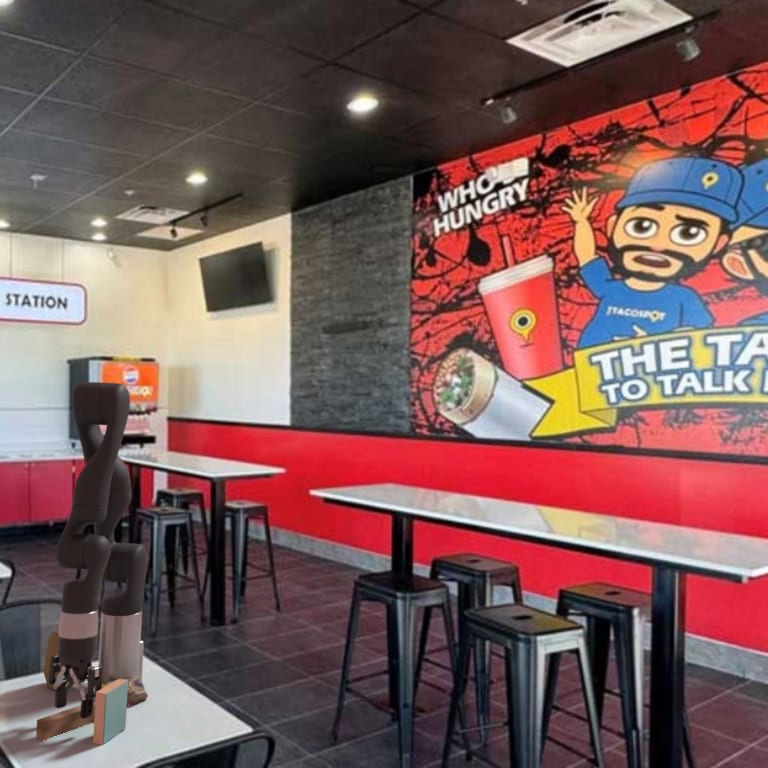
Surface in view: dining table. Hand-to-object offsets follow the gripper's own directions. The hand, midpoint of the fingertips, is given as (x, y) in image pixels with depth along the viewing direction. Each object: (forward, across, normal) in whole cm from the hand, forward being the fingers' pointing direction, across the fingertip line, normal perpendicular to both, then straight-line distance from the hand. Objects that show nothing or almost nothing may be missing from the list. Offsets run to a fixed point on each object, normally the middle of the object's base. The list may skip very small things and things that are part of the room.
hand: (72, 712), depth 158 cm
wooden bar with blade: (+3, 0, -2) cm, 4 cm away
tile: (+3, -9, -2) cm, 10 cm away
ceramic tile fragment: (+3, +6, -18) cm, 19 cm away
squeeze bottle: (+3, +22, -12) cm, 26 cm away
